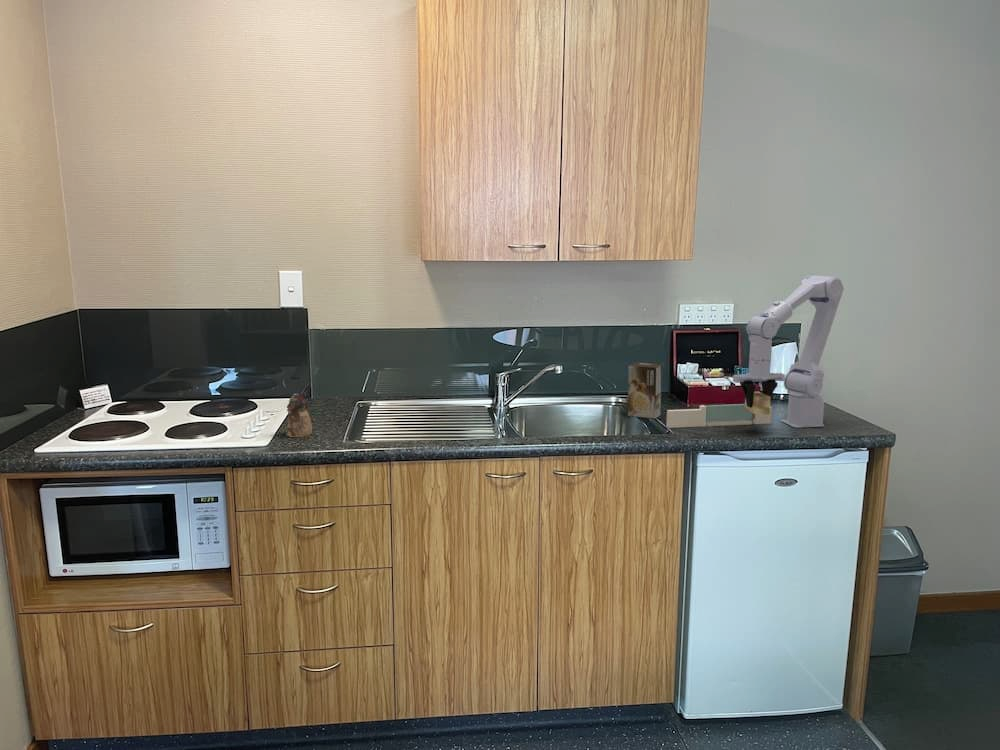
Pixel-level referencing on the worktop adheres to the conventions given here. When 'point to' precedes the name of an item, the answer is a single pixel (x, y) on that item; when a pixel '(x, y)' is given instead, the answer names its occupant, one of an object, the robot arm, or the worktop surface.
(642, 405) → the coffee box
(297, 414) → the figurine
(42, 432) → the worktop surface
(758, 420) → the door frame
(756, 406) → the doorstop
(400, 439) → the worktop surface
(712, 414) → the door
